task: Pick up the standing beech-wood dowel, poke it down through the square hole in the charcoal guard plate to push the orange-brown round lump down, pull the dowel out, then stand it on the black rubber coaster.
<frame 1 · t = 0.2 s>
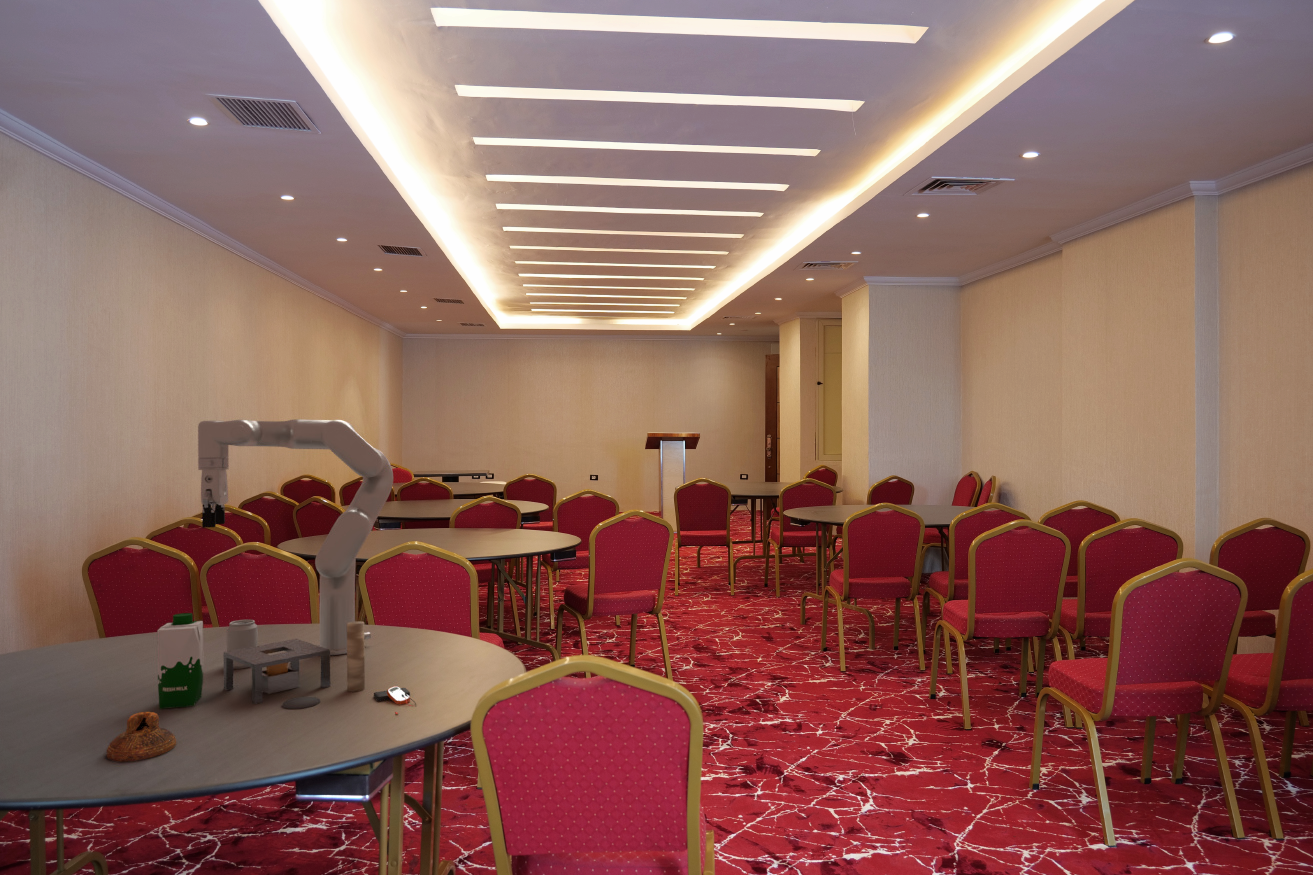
hand: (213, 525, 233), 37 cm above the table, tool pointing down, fingers open, 9 cm apart
guard: (277, 687, 204), on the table
milk carton: (180, 703, 192), on the table
orange-brown round lump: (277, 665, 204), point 5 cm above the table, slide at 0.0 cm
dowel: (355, 688, 202), on the table
can: (242, 666, 225), on the table
multimeter: (405, 705, 191), on the table
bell: (141, 752, 162), on the table
coaster: (301, 703, 191), on the table
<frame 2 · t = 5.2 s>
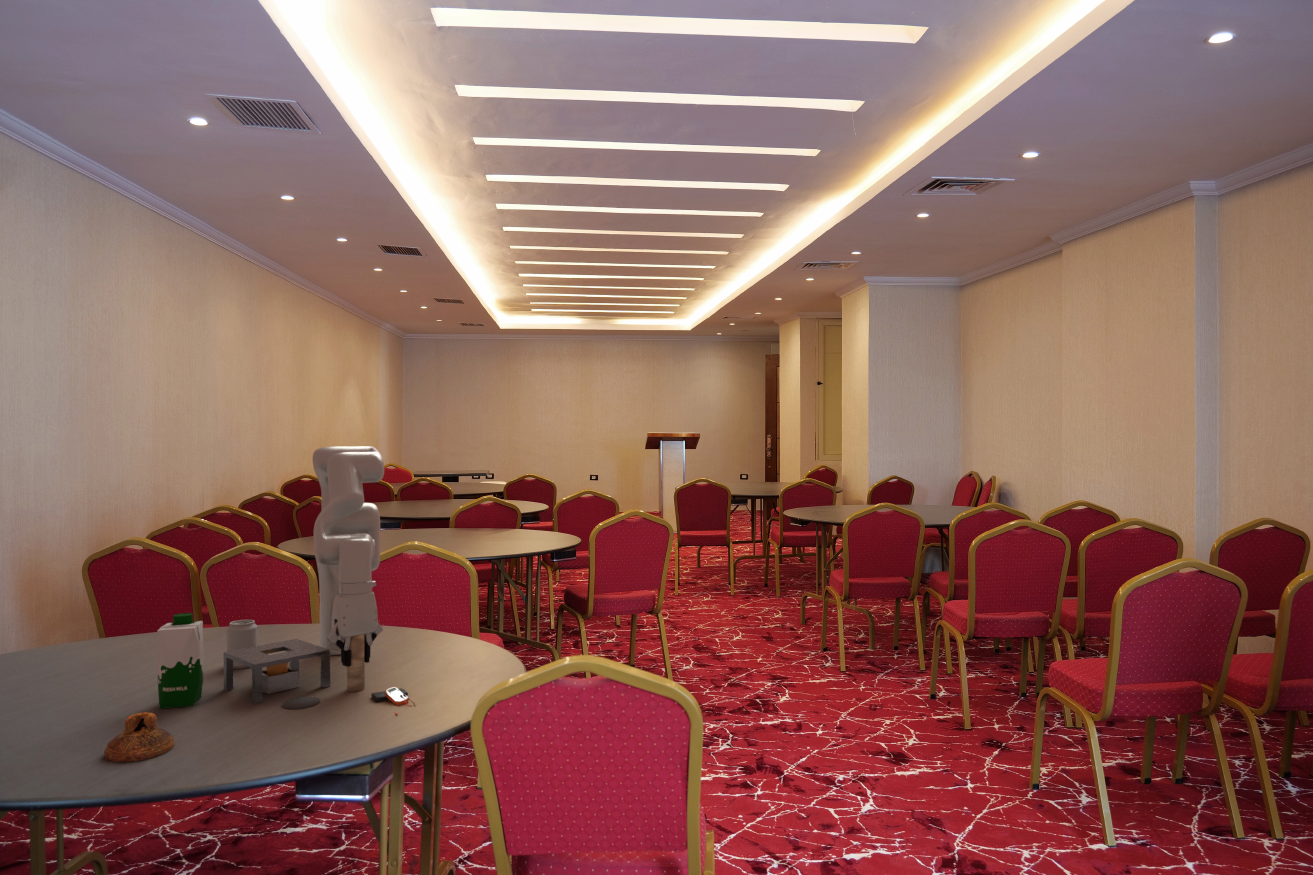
hand: (355, 662, 202), 6 cm above the table, tool pointing down, fingers closed on dowel, 4 cm apart
dowel: (355, 688, 202), on the table, touching gripper
everything else where it was.
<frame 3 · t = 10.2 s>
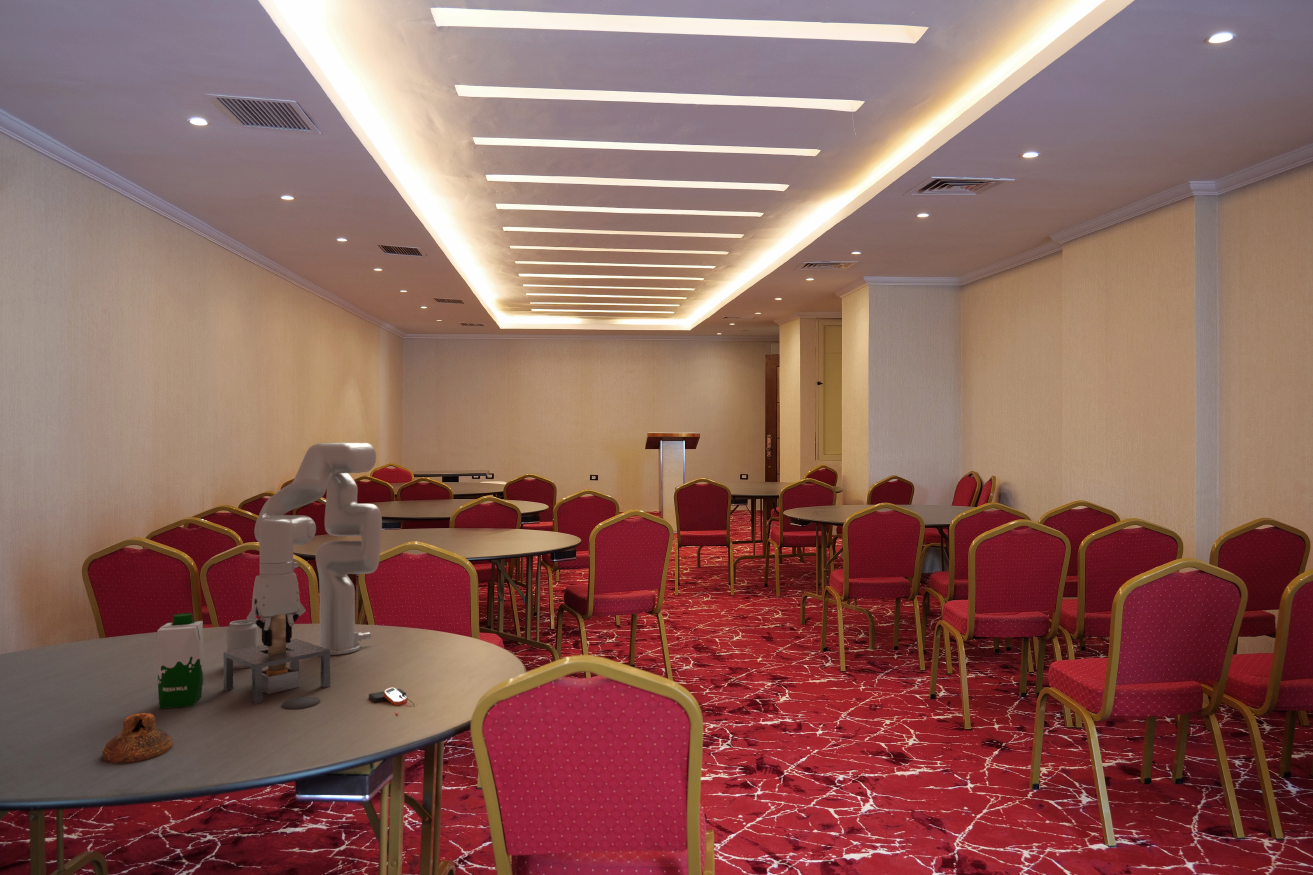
hand: (276, 642, 204), 11 cm above the table, tool pointing down, fingers closed on dowel, 4 cm apart
orange-brown round lump: (277, 677, 204), point 2 cm above the table, slide at 3.0 cm, touching dowel
dowel: (277, 668, 204), point 5 cm above the table, touching gripper, orange-brown round lump
everything else where it was.
when the fingers open (8 cm above the table, at t = 15.8 s): dowel drops 1 cm, resting on coaster.
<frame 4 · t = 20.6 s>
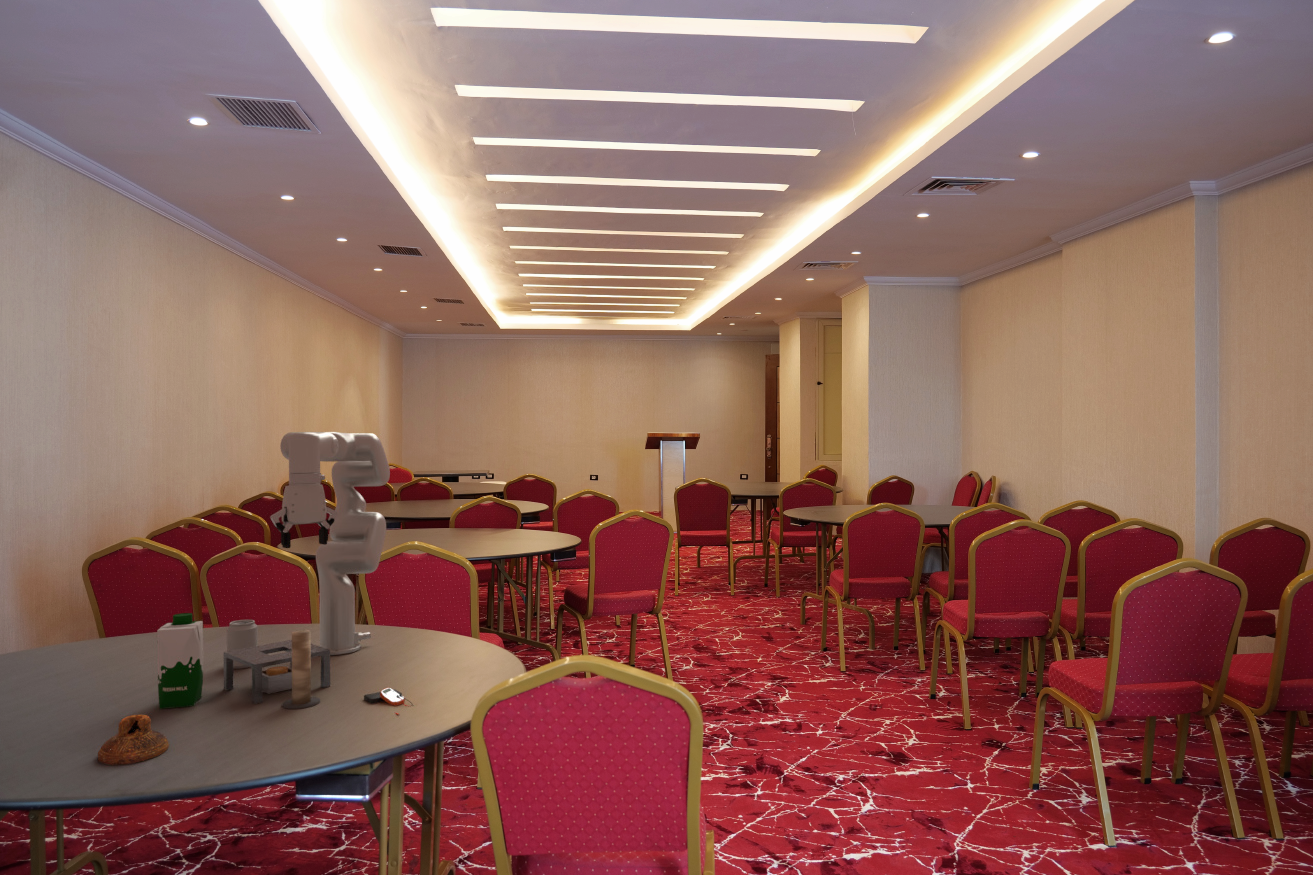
hand: (305, 545, 216), 33 cm above the table, tool pointing down, fingers open, 9 cm apart
orange-brown round lump: (277, 677, 204), point 2 cm above the table, slide at 3.0 cm
dowel: (301, 701, 191), resting on coaster
at the end: orange-brown round lump slide at 3.0 cm; dowel 0.1 cm from the coaster (horizontally); dowel tilted 0° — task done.
